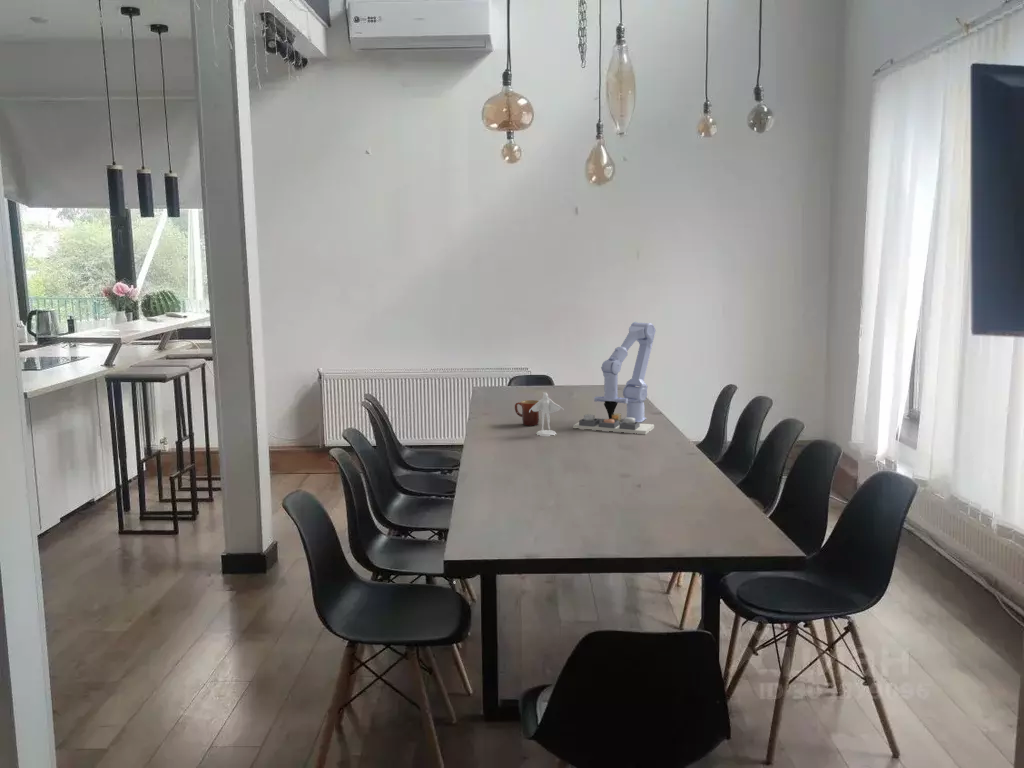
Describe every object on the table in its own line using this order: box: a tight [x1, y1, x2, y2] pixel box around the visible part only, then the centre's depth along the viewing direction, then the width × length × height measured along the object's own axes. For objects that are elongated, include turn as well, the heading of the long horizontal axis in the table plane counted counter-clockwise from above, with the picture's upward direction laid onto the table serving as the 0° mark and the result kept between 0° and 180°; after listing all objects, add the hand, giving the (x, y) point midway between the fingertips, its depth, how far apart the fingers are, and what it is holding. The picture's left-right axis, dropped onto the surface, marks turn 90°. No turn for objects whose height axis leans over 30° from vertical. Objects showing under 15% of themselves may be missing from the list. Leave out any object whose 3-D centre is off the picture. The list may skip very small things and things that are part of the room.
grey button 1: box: [583, 413, 596, 422], centre depth 348 cm, size 5×5×2 cm
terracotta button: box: [603, 418, 615, 423], centre depth 344 cm, size 5×5×2 cm
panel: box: [572, 417, 655, 435], centre depth 347 cm, size 14×32×4 cm, turn 65°
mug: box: [514, 399, 540, 427], centre depth 357 cm, size 12×9×10 cm
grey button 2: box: [623, 416, 635, 425], centre depth 340 cm, size 5×5×2 cm
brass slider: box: [612, 412, 622, 422], centre depth 350 cm, size 4×3×4 cm
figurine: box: [529, 391, 565, 437], centre depth 338 cm, size 14×11×18 cm
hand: (610, 418), depth 351 cm, fingers closed
